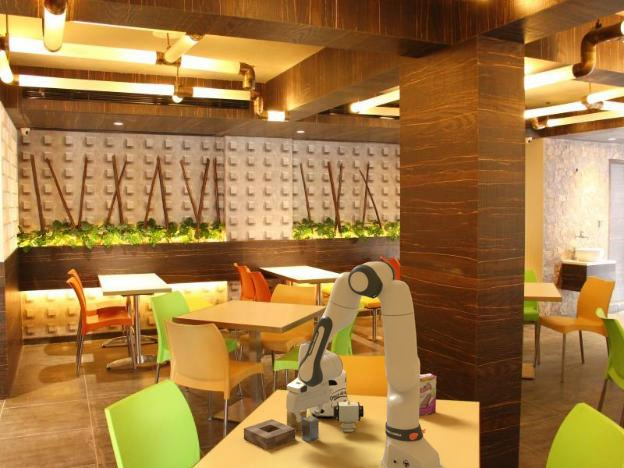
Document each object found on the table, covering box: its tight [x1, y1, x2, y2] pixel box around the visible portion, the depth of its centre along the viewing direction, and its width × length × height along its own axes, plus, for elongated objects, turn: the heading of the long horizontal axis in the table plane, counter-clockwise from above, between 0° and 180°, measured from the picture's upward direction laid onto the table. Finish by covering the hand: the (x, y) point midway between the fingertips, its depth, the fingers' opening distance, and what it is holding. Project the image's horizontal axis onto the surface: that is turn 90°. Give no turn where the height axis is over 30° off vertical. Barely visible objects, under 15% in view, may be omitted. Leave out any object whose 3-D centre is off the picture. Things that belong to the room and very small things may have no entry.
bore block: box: [243, 419, 296, 450], centre depth 230 cm, size 14×14×4 cm
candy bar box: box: [419, 373, 438, 417], centre depth 257 cm, size 11×5×16 cm, turn 115°
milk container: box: [308, 369, 350, 418], centre depth 257 cm, size 17×17×18 cm
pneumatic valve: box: [333, 400, 365, 433], centre depth 238 cm, size 6×12×12 cm, turn 91°
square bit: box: [301, 415, 320, 443], centre depth 229 cm, size 4×4×8 cm
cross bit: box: [286, 409, 308, 433], centre depth 241 cm, size 8×8×8 cm
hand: (308, 418), depth 229 cm, fingers open, 8 cm apart
